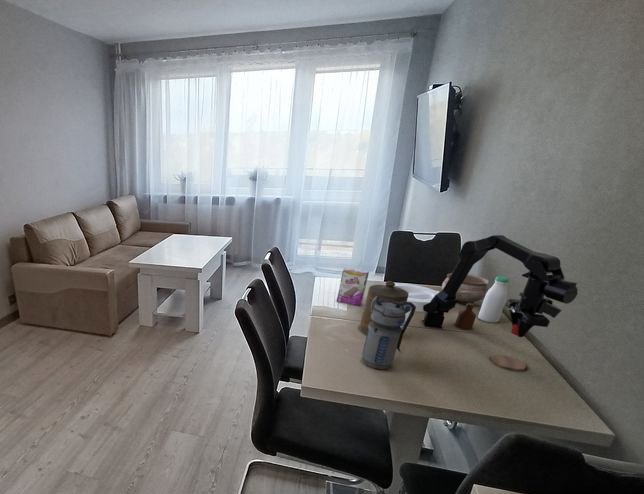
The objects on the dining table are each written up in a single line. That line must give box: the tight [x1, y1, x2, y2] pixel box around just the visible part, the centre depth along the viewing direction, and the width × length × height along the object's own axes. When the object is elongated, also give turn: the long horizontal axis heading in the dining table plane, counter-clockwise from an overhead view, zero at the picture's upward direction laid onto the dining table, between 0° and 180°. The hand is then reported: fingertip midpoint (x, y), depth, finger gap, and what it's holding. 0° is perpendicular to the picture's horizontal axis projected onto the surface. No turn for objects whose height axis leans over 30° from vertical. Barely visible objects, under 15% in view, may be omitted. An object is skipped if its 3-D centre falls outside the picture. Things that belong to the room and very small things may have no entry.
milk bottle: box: [477, 275, 510, 324], centre depth 183 cm, size 8×8×20 cm
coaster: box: [490, 354, 527, 372], centre depth 149 cm, size 10×10×1 cm
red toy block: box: [510, 324, 527, 337], centre depth 145 cm, size 4×4×3 cm
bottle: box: [454, 303, 477, 331], centre depth 177 cm, size 6×6×10 cm
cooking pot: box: [441, 272, 490, 305], centre depth 205 cm, size 25×19×12 cm
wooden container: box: [359, 280, 409, 335], centre depth 168 cm, size 15×15×22 cm
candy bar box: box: [336, 267, 370, 307], centre depth 199 cm, size 11×5×16 cm, turn 58°
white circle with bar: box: [383, 282, 440, 313], centre depth 205 cm, size 28×28×5 cm
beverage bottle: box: [361, 296, 416, 370], centre depth 142 cm, size 10×13×25 cm
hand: (517, 334), depth 146 cm, fingers closed on red toy block, 4 cm apart
